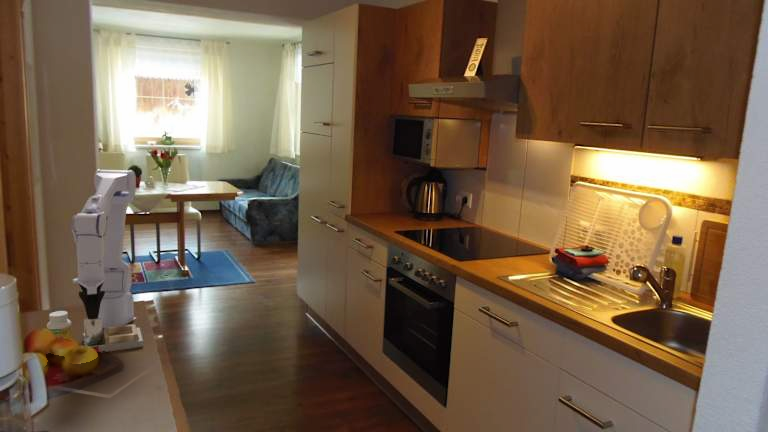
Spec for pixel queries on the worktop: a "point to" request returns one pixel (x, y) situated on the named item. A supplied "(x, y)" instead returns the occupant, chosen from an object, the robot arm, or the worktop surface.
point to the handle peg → (93, 331)
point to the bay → (120, 345)
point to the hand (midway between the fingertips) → (92, 313)
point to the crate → (120, 334)
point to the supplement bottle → (60, 324)
